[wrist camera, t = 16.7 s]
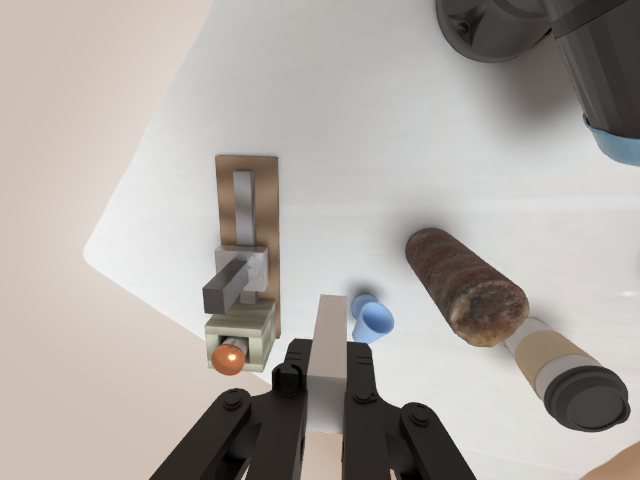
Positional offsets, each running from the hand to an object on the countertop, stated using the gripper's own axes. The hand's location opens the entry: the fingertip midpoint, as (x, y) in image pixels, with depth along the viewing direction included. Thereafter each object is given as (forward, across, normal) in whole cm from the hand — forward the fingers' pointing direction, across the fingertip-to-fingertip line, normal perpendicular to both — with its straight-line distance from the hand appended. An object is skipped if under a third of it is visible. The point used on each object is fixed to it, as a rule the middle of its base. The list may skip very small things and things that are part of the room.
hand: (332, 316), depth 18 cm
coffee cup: (+30, +31, -19) cm, 47 cm away
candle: (+30, +14, -5) cm, 33 cm away
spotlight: (+30, +5, -15) cm, 34 cm away
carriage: (+26, -14, -8) cm, 30 cm away
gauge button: (+25, -14, -18) cm, 34 cm away
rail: (+29, -14, -7) cm, 33 cm away
